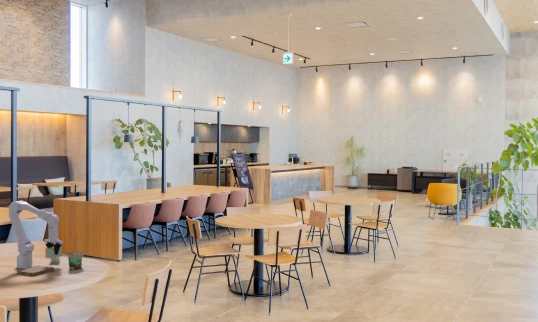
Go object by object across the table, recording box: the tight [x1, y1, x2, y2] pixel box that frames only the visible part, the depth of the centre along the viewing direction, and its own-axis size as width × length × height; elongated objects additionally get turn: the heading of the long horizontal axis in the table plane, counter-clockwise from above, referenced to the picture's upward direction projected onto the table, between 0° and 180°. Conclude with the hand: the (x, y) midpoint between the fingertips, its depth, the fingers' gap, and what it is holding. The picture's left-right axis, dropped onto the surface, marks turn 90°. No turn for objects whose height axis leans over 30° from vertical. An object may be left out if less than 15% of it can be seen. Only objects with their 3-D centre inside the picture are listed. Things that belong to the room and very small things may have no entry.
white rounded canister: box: [50, 256, 61, 264], centre depth 362 cm, size 6×6×8 cm
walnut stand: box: [16, 265, 55, 277], centre depth 333 cm, size 14×16×2 cm
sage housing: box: [44, 246, 63, 260], centre depth 345 cm, size 5×10×6 cm, turn 154°
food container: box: [67, 251, 84, 271], centre depth 343 cm, size 12×6×10 cm, turn 168°
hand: (53, 254), depth 345 cm, fingers closed on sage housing, 5 cm apart
